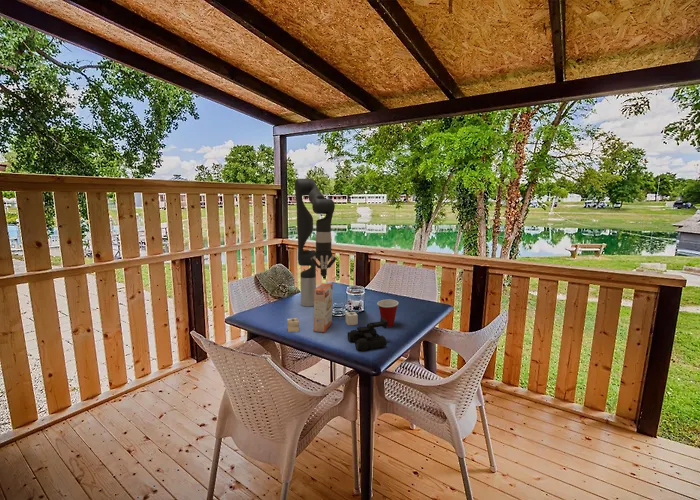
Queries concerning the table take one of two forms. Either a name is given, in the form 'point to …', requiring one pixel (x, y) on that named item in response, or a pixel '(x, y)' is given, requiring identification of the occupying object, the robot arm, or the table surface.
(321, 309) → the cracker box
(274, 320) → the table surface
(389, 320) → the plastic cup
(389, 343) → the table surface
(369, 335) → the night vision goggles
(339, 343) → the table surface
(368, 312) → the table surface
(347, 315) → the beige wooden cube
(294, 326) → the birch block
